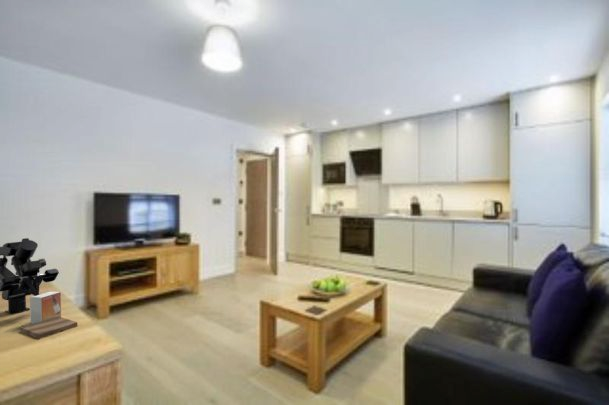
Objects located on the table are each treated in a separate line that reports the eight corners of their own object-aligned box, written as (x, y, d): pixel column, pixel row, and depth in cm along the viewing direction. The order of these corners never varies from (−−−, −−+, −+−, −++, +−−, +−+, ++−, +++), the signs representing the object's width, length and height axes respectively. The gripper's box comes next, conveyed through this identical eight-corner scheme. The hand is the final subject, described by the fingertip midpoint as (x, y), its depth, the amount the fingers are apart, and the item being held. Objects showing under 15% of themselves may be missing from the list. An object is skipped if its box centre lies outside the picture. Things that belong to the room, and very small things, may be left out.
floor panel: (20, 331, 117) (20, 327, 117) (58, 320, 128) (58, 316, 128) (39, 338, 111) (39, 334, 111) (77, 326, 121) (77, 322, 121)
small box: (41, 325, 123) (40, 297, 123) (30, 324, 124) (29, 296, 124) (61, 317, 131) (61, 291, 131) (50, 316, 132) (50, 290, 132)
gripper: (0, 257, 124) (14, 289, 119) (56, 249, 141) (70, 277, 136) (-8, 275, 128) (5, 307, 123) (47, 266, 145) (61, 294, 140)
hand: (37, 295), depth 130 cm, fingers closed
